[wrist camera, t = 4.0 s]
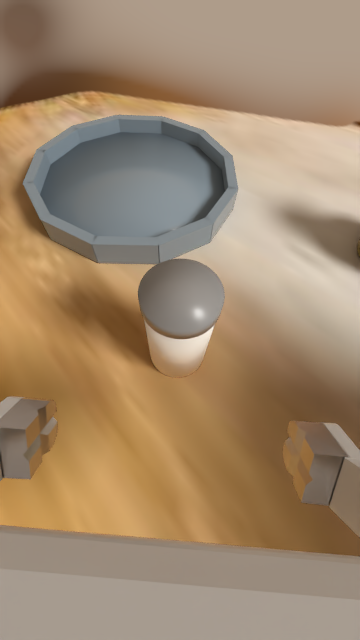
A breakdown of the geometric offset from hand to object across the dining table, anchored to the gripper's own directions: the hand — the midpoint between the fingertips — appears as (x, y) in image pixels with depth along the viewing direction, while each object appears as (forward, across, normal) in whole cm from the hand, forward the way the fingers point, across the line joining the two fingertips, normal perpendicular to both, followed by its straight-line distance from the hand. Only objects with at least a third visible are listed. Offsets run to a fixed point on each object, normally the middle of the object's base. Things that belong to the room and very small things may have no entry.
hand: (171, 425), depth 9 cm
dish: (+26, +6, -11) cm, 29 cm away
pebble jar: (+12, 0, +2) cm, 12 cm away
